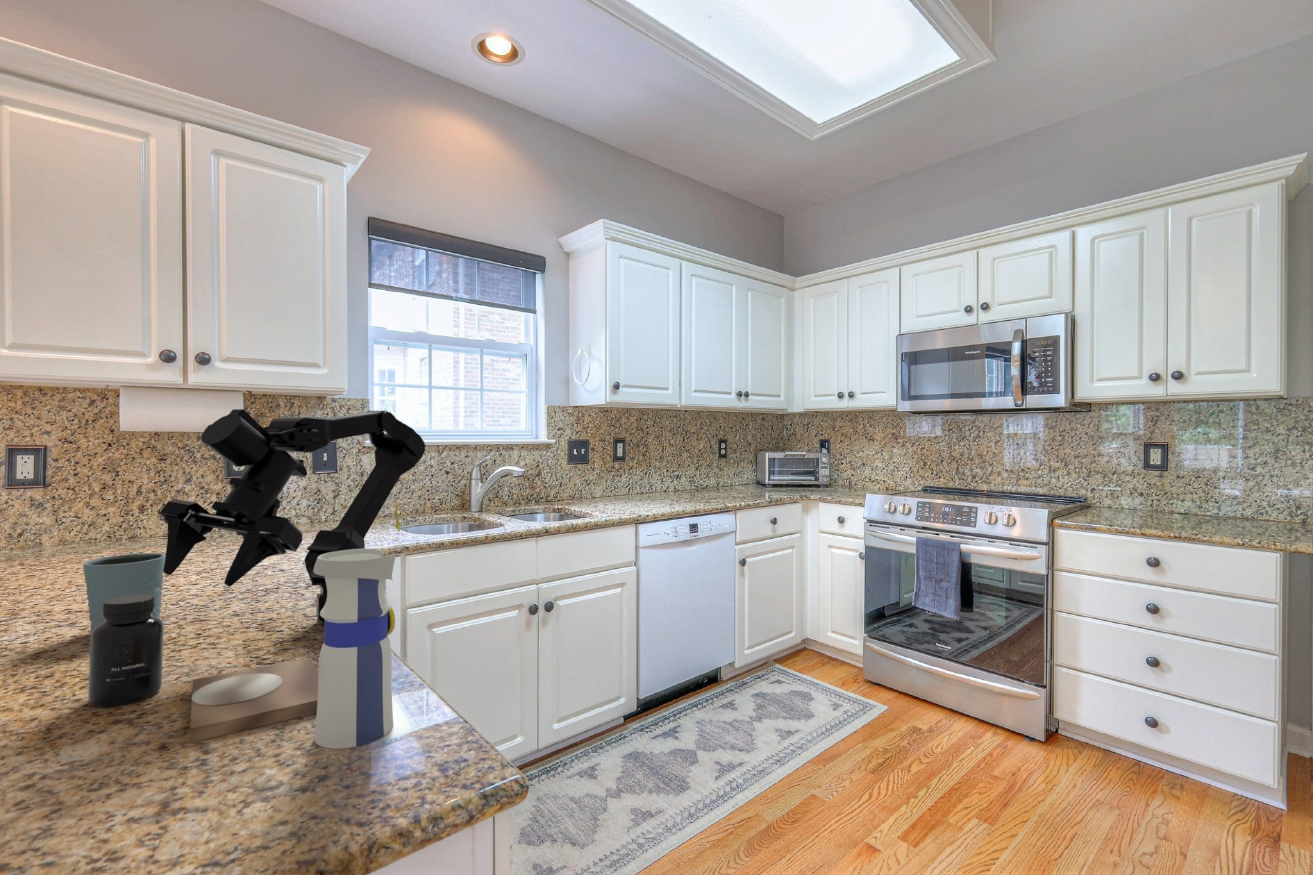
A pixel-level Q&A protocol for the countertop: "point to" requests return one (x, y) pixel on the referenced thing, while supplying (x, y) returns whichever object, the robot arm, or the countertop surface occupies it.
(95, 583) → the blue-grey cup
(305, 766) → the countertop surface
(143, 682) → the supplement bottle
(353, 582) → the water bottle
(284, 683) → the walnut board
